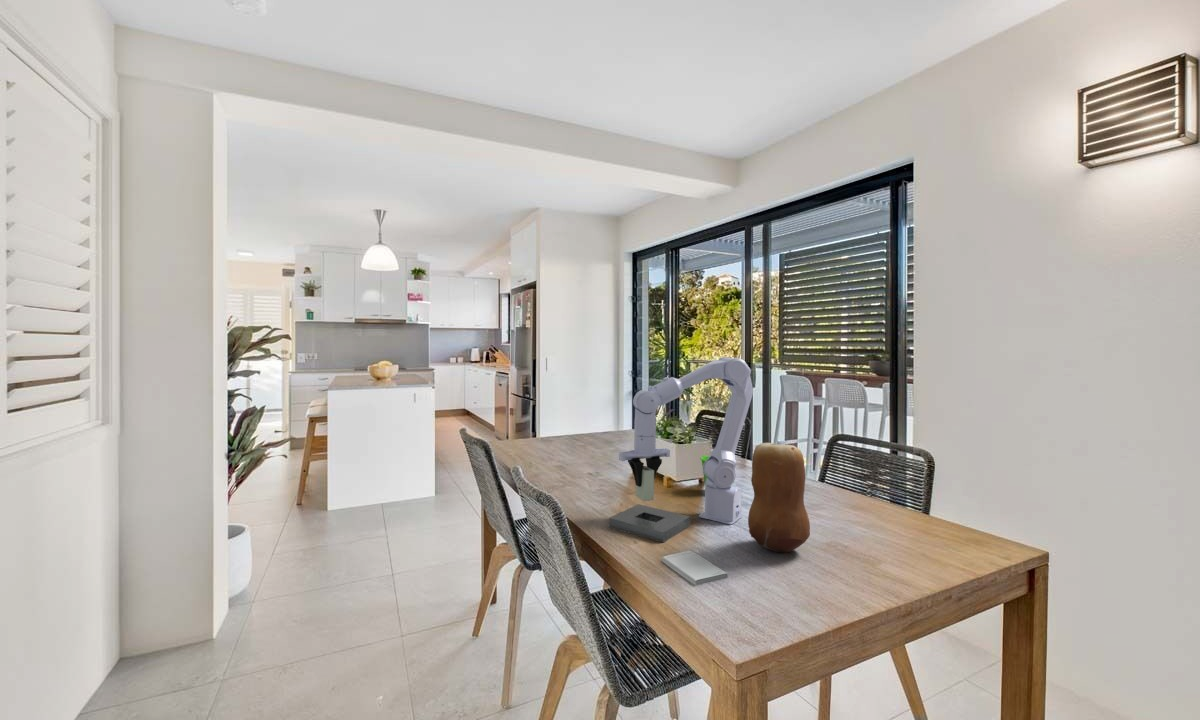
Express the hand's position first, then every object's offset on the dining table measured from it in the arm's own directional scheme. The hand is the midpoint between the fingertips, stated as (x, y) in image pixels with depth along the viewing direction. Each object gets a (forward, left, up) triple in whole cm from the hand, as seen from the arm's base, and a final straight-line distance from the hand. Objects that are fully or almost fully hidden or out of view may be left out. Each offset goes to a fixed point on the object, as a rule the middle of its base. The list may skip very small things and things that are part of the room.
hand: (644, 484), depth 138 cm
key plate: (-4, +4, -9) cm, 11 cm away
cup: (-5, -34, -10) cm, 36 cm away
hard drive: (-24, +19, -10) cm, 32 cm away
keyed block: (0, 0, -3) cm, 4 cm away
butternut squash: (-35, -2, -10) cm, 37 cm away
